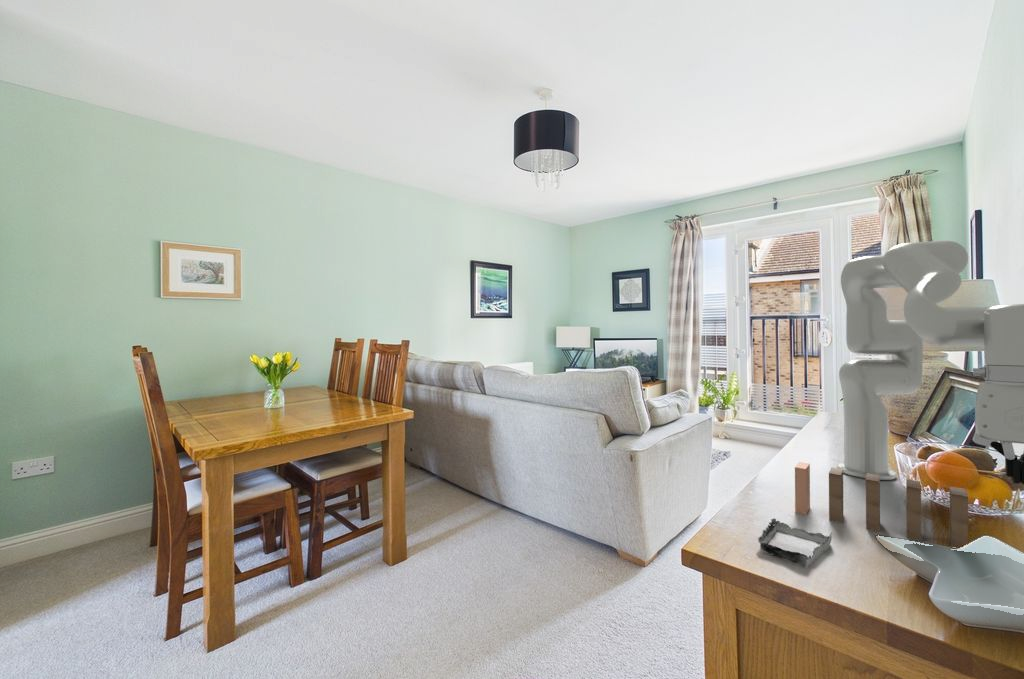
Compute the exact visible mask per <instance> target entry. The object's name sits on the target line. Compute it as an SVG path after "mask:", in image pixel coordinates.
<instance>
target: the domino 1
mask: <svg viewBox="0 0 1024 679" xmlns="http://www.w3.org/2000/svg"><path fill="white" fill-rule="evenodd" d="M810 470H811V464H810V463H809V462H801V461H798V462H797V464H796V465H795V466H794V510H795V511H794V512H795V513H796V514H797V513H798V514H802V515H808V512H809V510H810V508H811V478H810V477H811V471H810Z"/></svg>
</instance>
